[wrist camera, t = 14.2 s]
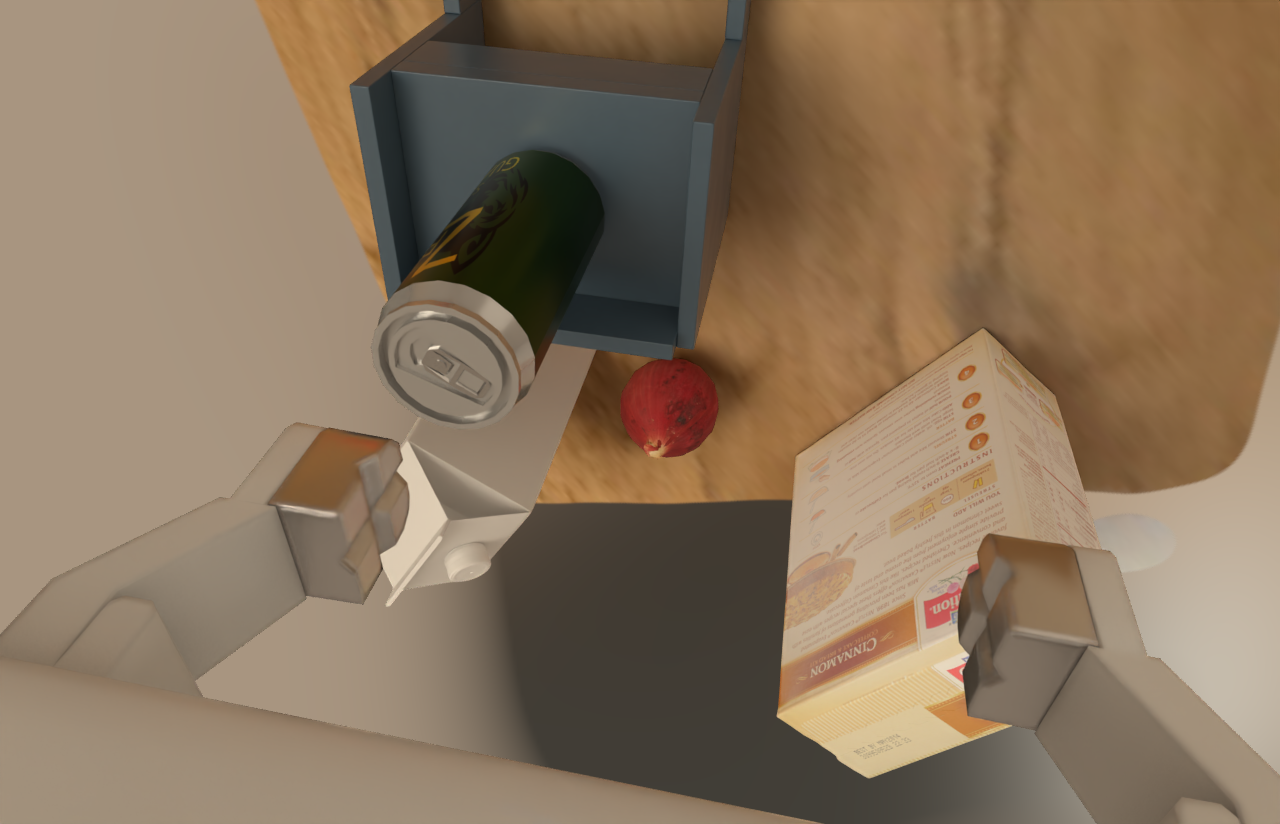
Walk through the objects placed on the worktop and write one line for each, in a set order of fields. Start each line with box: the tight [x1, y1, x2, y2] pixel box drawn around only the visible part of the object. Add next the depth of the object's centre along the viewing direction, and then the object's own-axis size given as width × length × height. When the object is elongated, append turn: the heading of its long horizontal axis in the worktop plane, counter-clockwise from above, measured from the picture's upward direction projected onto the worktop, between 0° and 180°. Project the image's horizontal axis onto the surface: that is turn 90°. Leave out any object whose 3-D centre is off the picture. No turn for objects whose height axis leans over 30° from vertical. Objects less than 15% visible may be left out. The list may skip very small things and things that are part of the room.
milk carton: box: [380, 343, 596, 607], centre depth 49 cm, size 7×7×19 cm
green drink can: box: [371, 150, 605, 430], centre depth 32 cm, size 5×5×12 cm
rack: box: [350, 0, 751, 360], centre depth 36 cm, size 20×14×14 cm
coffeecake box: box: [777, 328, 1101, 778], centre depth 46 cm, size 15×7×20 cm, turn 141°
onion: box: [621, 358, 718, 459], centre depth 51 cm, size 6×6×8 cm
